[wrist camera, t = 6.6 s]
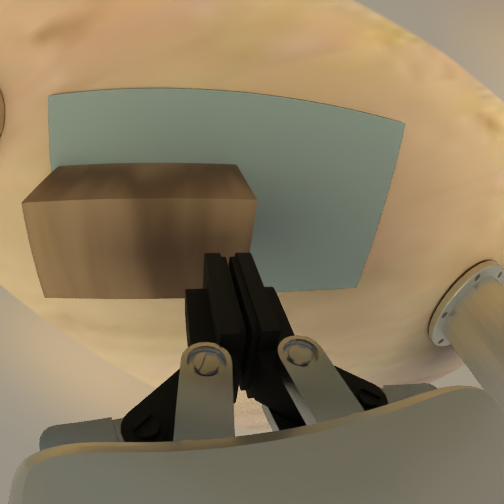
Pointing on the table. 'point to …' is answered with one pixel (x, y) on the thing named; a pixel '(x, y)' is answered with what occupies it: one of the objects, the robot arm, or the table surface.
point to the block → (135, 227)
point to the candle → (1, 113)
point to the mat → (253, 166)
